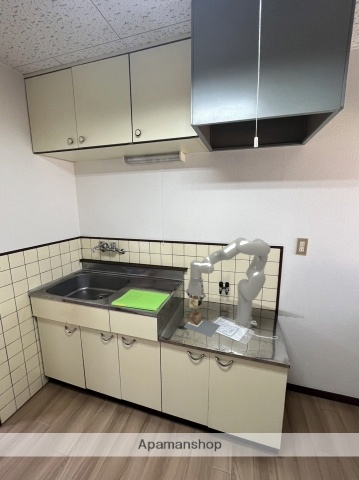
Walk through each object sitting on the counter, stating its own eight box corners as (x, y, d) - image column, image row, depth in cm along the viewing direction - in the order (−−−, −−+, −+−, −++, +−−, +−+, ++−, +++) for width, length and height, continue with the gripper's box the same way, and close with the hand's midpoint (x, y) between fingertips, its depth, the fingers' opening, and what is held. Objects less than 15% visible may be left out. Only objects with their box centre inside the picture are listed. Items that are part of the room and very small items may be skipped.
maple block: (201, 305, 151) (201, 297, 150) (197, 309, 146) (197, 301, 145) (193, 303, 154) (193, 295, 153) (189, 306, 150) (189, 298, 148)
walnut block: (201, 321, 154) (201, 313, 153) (197, 325, 149) (197, 317, 148) (193, 318, 157) (194, 311, 156) (189, 322, 152) (189, 315, 151)
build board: (220, 326, 149) (220, 325, 149) (210, 338, 137) (210, 337, 137) (194, 317, 160) (194, 316, 160) (183, 327, 148) (183, 326, 148)
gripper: (210, 280, 145) (209, 305, 149) (187, 274, 154) (187, 298, 158) (204, 284, 139) (204, 310, 142) (181, 278, 148) (181, 302, 152)
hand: (195, 303), depth 150 cm, fingers closed on maple block, 5 cm apart
